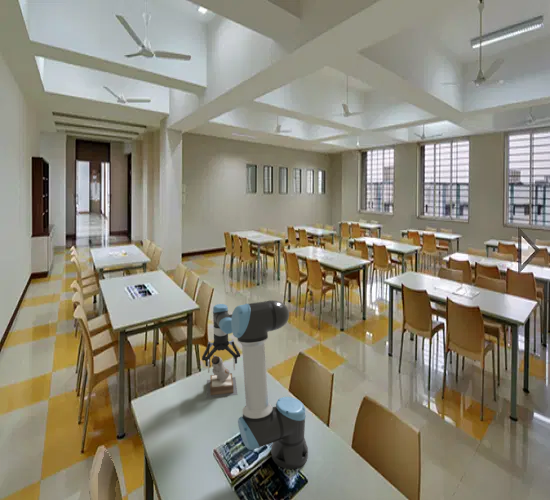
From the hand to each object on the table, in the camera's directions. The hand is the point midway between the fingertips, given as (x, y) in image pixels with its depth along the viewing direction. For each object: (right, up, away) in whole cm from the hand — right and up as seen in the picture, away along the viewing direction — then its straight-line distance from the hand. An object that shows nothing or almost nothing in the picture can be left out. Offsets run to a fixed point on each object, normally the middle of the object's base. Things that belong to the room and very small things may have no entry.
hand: (221, 370), depth 168 cm
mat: (0, -11, +2) cm, 11 cm away
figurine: (-1, -6, +1) cm, 6 cm away
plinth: (0, -10, +2) cm, 10 cm away
